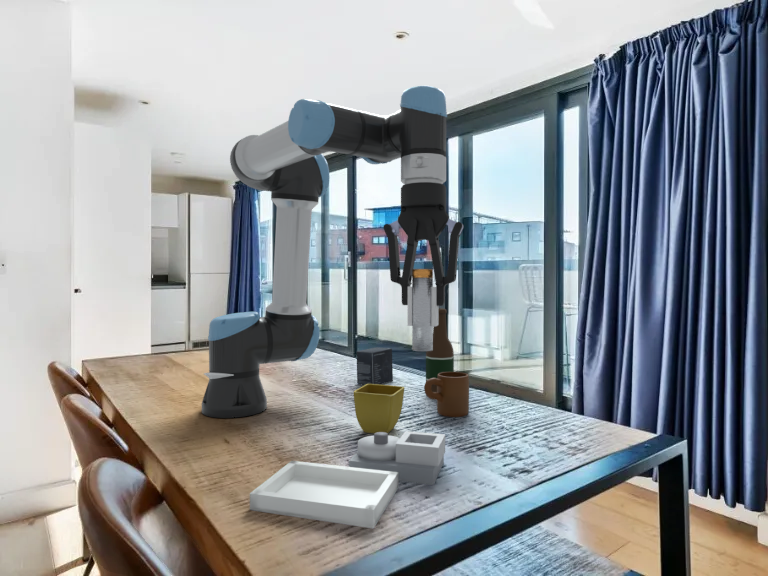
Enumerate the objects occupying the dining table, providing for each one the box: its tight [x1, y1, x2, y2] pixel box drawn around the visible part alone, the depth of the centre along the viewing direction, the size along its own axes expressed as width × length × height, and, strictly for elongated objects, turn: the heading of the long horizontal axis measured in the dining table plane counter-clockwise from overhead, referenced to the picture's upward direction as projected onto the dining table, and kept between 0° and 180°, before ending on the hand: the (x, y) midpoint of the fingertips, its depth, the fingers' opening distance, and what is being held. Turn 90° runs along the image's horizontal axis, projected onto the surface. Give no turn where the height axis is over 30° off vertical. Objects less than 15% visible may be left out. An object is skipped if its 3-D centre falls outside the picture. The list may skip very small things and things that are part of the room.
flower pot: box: [352, 384, 406, 434], centre depth 106 cm, size 9×9×9 cm
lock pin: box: [411, 268, 434, 352], centre depth 83 cm, size 3×3×13 cm
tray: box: [249, 460, 399, 529], centre depth 73 cm, size 18×13×2 cm
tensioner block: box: [348, 430, 446, 486], centre depth 85 cm, size 14×10×6 cm
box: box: [355, 346, 394, 386], centre depth 154 cm, size 11×7×10 cm, turn 144°
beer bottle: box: [425, 308, 455, 392], centre depth 138 cm, size 8×8×24 cm
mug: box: [423, 371, 470, 418], centre depth 119 cm, size 12×8×9 cm, turn 121°
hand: (423, 325), depth 84 cm, fingers closed on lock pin, 3 cm apart
